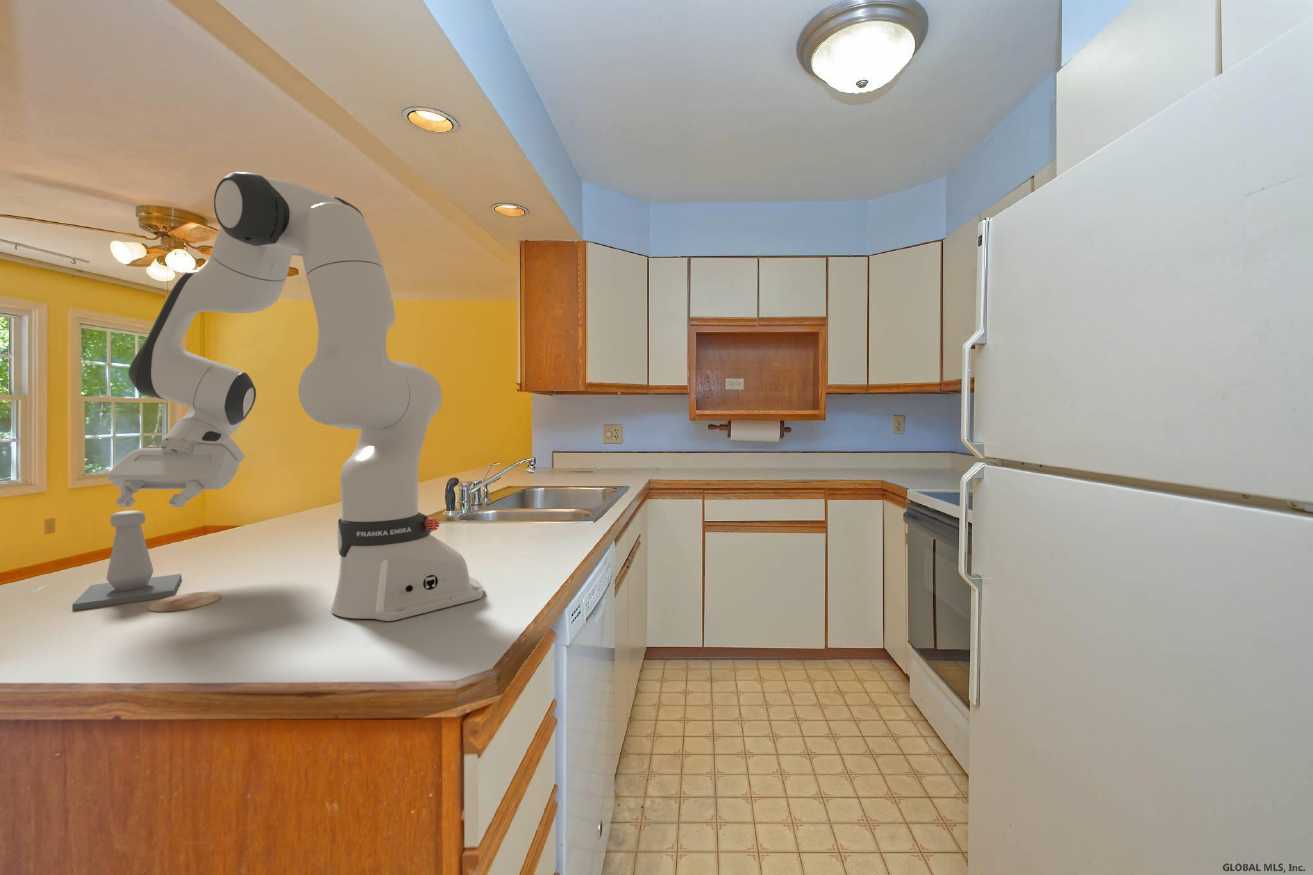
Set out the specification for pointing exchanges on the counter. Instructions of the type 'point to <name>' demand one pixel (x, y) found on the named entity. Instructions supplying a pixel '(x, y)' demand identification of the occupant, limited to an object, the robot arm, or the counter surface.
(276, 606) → the counter surface
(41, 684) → the counter surface
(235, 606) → the counter surface
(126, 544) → the salt shaker
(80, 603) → the mat
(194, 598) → the coaster
